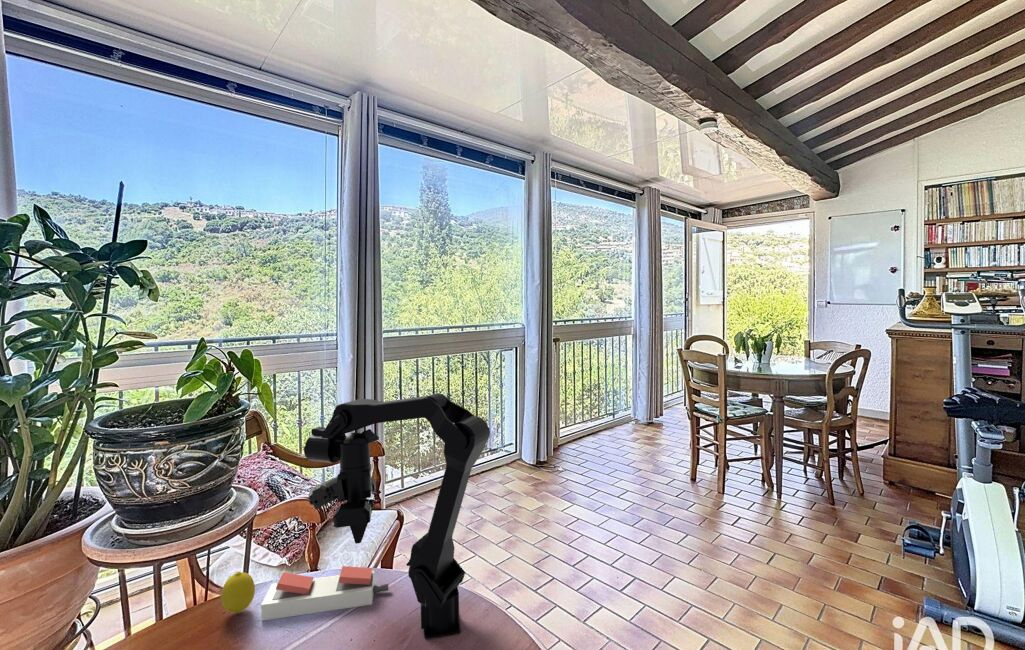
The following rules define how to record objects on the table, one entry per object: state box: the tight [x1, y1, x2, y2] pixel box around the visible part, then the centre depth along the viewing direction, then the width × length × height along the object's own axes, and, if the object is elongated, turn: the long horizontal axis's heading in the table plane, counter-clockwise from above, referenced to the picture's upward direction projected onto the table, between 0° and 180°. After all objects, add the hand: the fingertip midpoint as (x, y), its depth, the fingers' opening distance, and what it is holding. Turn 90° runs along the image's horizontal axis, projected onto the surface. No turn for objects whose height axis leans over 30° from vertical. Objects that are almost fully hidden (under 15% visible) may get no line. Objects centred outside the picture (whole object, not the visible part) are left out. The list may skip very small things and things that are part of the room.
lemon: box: [220, 571, 256, 615], centre depth 88 cm, size 6×6×8 cm
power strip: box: [260, 570, 389, 622], centre depth 92 cm, size 23×7×3 cm, turn 103°
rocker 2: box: [339, 565, 373, 585], centre depth 93 cm, size 6×4×1 cm, turn 103°
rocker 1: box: [276, 571, 314, 594], centre depth 90 cm, size 6×4×1 cm, turn 103°
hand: (358, 542), depth 90 cm, fingers closed
